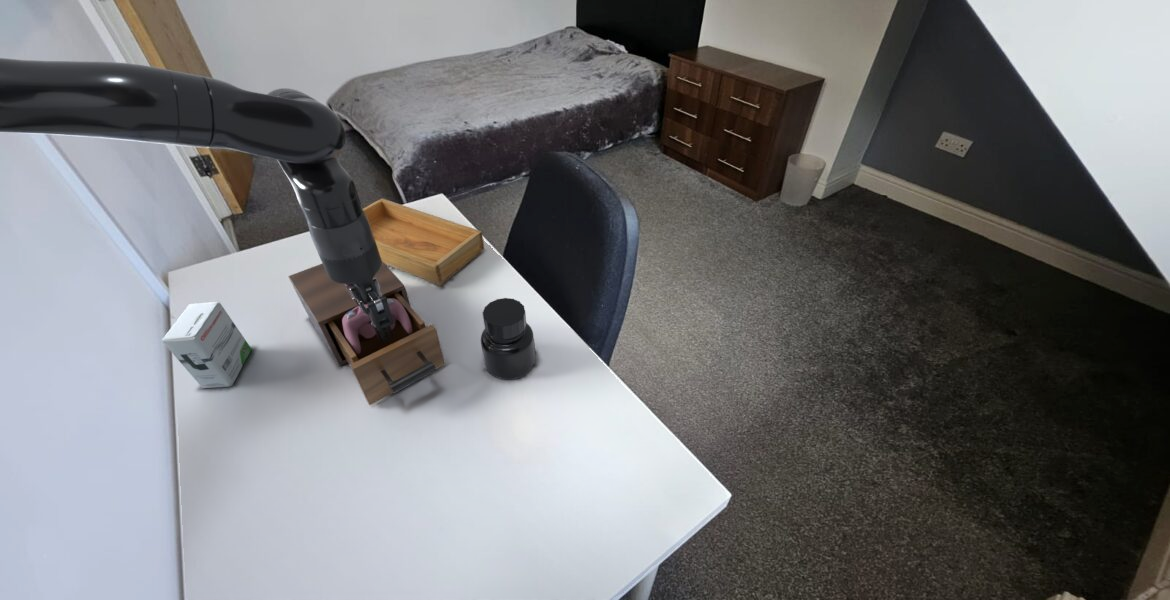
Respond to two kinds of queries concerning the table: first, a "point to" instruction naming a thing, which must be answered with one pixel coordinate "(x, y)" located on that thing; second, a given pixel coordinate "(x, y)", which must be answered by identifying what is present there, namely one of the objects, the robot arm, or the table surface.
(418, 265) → the tray
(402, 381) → the drawer
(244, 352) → the ink box
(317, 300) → the cabinet
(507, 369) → the ink bottle
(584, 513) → the table surface
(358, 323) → the video game controller
